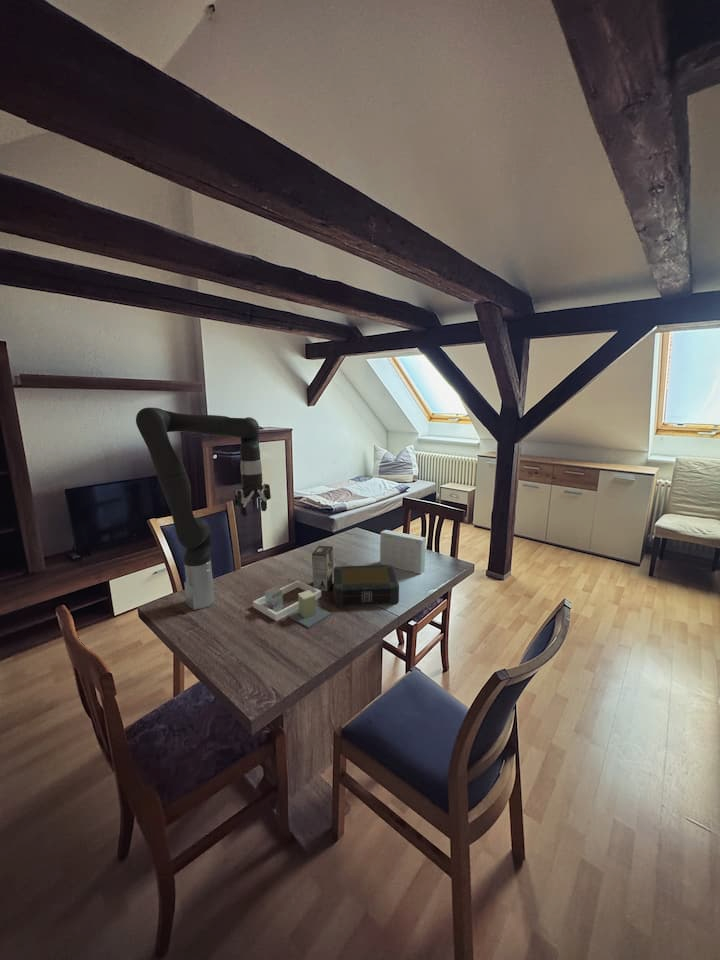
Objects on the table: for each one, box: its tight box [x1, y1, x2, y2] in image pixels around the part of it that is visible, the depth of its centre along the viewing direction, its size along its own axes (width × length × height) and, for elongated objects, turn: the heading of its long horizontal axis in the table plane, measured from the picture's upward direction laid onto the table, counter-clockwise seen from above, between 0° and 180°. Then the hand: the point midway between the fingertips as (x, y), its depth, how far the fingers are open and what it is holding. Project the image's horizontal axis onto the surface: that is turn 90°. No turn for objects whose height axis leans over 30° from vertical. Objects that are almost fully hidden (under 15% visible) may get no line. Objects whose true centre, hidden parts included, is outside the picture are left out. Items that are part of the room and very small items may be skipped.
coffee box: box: [311, 545, 334, 592], centre depth 158 cm, size 9×6×16 cm
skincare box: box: [379, 529, 427, 575], centre depth 175 cm, size 21×5×16 cm, turn 58°
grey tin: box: [264, 586, 284, 613], centre depth 141 cm, size 4×4×8 cm
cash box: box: [333, 564, 400, 607], centre depth 153 cm, size 25×20×8 cm
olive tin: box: [297, 590, 317, 618], centre depth 137 cm, size 5×5×8 cm
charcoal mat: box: [287, 604, 332, 629], centre depth 137 cm, size 11×11×1 cm
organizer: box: [252, 579, 322, 622], centre depth 147 cm, size 22×14×2 cm, turn 139°
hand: (254, 513), depth 145 cm, fingers open, 8 cm apart
